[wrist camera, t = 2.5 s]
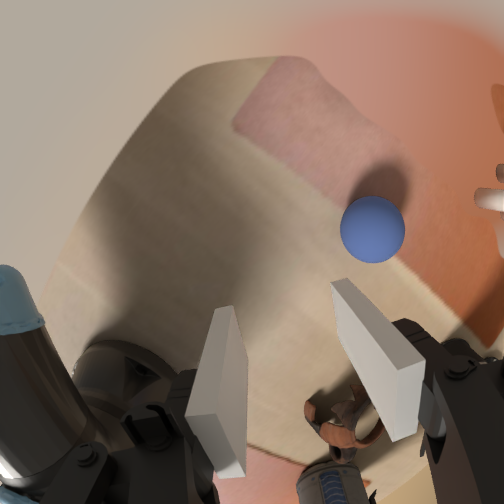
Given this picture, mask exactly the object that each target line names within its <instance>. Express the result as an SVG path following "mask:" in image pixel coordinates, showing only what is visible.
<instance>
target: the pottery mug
mask: <svg viewBox="0 0 504 504" xmlns="http://www.w3.org/2000/svg"><path fill="white" fill-rule="evenodd" d="M350 387H351V389H352V391H353V394H354V397H355V401H353V400H347V401H344V402H341V403H336V404H334V406H333V407H332V408H331V411H333V412H334V413H336V414H337V416H338V418H339V419H340V420H341V422H342V424H343V425H335V424H332V423H330V422H327V423H326V422H325V423H323V424H318V423H316V421H315V411H316V406H315V405H313V404H311V402H310V401H308V400H307V401H306V402H305V406H304V414H305V418H306V420H307V422H308V423H309V424H310V425H311V426H312V427H313V429H315V431H316V433H318V435H319V436H320V437H321V438H322V439H323V440H324V441H325V442H327V443H329V450H330V454H331V457H332V458H333V460H334V461H335V462H338V463H340V464H345V463H347V462H349V461H351V460H352V459H353V458H354V456H355V454H356V451H357V449H358V448H365V447H368V446H370V445H371V444H373V443H374V442H375V441H376V440H377V439H378V438H379V437H380V436H381V435H382V433H383V432H384V431H385V429H386V428H385V426H384V424H383V422H382V420H381V418H380V417H379V419H378V422H377V424H376V426H375V427H374V429H373V430H372V431H371V432H370V433H369V435H367V436H366V437H365V438H364V439H363V440H361V441H360V440H358V439H356V436H355V428H356V424H357V421H358V419H359V417H360V415H361V413H362V412H363V410H364V409H365V407H366V406H367V405H368V404H369V403H370V402H372V401H371V399H370V397H369V395H368V393H367V391H366V389H365V387H364V385H350ZM374 409H376V408H375V406H374Z"/></svg>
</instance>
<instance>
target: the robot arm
mask: <svg viewBox="0 0 504 504" xmlns="http://www.w3.org/2000/svg"><path fill="white" fill-rule="evenodd" d="M330 284H331V290H332V297H333V304H334V310H335V317H336V325H337V332H338V338H339V340H340V342H341V344H342V346H343V348H344V350H345V351H346V353H347V355H348V357H349V359H350V361H351V363H352V364H353V366H354V368H355V370H356V372H357V374H358V376H359V378H360V380H361V381H362V383H363V385H364V387H365V389H366V391H367V393H368V395H369V397H370V399H371V401H372V403H373V405H374V406H375V408H376V410H377V412H378V414H379V416H380V418H381V420H382V422H383V424H384V426H385V428H386V430H387V432H388V434H389V436H390V438H391V440H392V442H395V441H397V440H400V439H402V438H405V437H407V436H410V435H412V434H415V433H416V432H417V427H418V421H420V423H421V425H422V426H423V428H424V429H425V431H424V436H423V440H422V445H421V449H420V457H422V456H424V452H425V450H426V454H427V458H428V462H429V466H430V470H431V475H432V479H433V484H434V489H435V493H436V499H437V504H504V357H503V359H502V360H498V361H494V362H490V363H486V364H480V363H479V362H478V361H477V360H476V359H474V358H472V357H469V356H464V355H455V356H452V355H451V354H450V353H449V352H448V351H447V350H446V349H445V348H444V347H443V346H442V345H441V344H440V343H439V342H437V341H436V340H435V339H434V338H433V337H431V335H430V334H429V333H428V332H427V331H424V329H423V328H422V327H421V326H420V325H419V324H418V323H417V322H414V321H411V320H409V319H406V318H403V319H400V320H397V321H394V322H390V321H389V320H388V319H387V318H386V317H385V316H384V315H383V314H382V313H381V312H380V311H379V310H378V309H377V308H376V307H375V306H374V304H373V303H372V302H371V301H370V300H369V299H368V298H367V297H366V296H365V295H364V294H363V293H362V292H361V291H360V290H359V289H358V288H357V287H356V286H355V285H354V284H353V283H352V282H351V281H350V280H349V279H348V278H345V279H342V280H338V281H334V282H330ZM44 324H45V321H44V318H43V316H42V315H41V314H40V313H39V312H38V310H37V308H36V305H35V303H34V301H33V299H32V296H31V294H30V292H29V289H28V287H27V284H26V282H25V280H24V278H23V276H22V275H21V273H20V272H19V271H18V270H16V269H15V268H13V267H11V266H8V265H0V481H1V482H2V485H1V486H0V503H2V504H220V501H219V496H218V491H217V489H216V486H215V485H214V483H213V482H212V480H213V472H214V470H215V472H216V474H217V475H218V477H219V479H225V478H237V477H246V447H247V395H248V356H247V353H246V350H245V346H244V343H243V339H242V336H241V332H240V329H239V325H238V322H237V318H236V315H235V311H234V308H233V305H230V306H225V307H220V308H216V309H215V311H214V314H213V318H212V321H211V325H210V328H209V331H208V335H207V338H206V342H205V345H204V349H203V352H202V356H201V359H200V363H199V366H198V369H192V370H184V371H181V372H180V373H179V375H177V374H176V373H175V372H174V370H173V369H172V368H171V367H170V366H169V365H168V364H167V363H165V362H164V361H163V360H162V359H160V358H159V357H158V356H156V355H155V354H153V353H152V352H150V351H148V350H146V349H144V348H142V347H140V346H137V345H134V344H131V343H128V342H123V341H115V340H109V341H102V342H98V343H96V344H94V345H92V346H90V347H89V348H88V349H87V350H86V351H85V352H84V353H83V354H82V355H81V356H80V358H79V359H78V360H77V362H76V364H75V366H74V368H73V373H72V379H71V377H70V375H69V373H68V372H67V370H66V368H65V366H64V364H63V362H62V360H61V358H60V356H59V354H58V352H57V350H56V348H55V346H54V344H53V342H52V340H51V338H50V336H49V334H48V332H47V329H46V327H45V325H44Z"/></svg>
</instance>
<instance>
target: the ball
mask: <svg viewBox="0 0 504 504" xmlns="http://www.w3.org/2000/svg"><path fill="white" fill-rule="evenodd" d="M340 233H341V238H342V241H343V244H344V246H345V248H346V249H347V250H348V252H349V253H350V254H351V255H352V256H354V257H355V258H357V259H358V260H360V261H363V262H367V263H379V262H383V261H386V260H388V259H389V258H391V257H392V256H393V255H395V254H396V253H397V251H398V250H399V249H400V247H401V245H402V243H403V240H404V235H405V225H404V220H403V217H402V215H401V213H400V211H399V210H398V209H397V207H396V206H395V205H394V204H393V203H391V202H390V201H388V200H387V199H385V198H382V197H378V196H366V197H362V198H360V199H358V200H356V201H354V202H353V203H352V204H351V205H350V206H349V207H348V208H347V209H346V211H345V212H344V214H343V217H342V220H341V225H340Z"/></svg>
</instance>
